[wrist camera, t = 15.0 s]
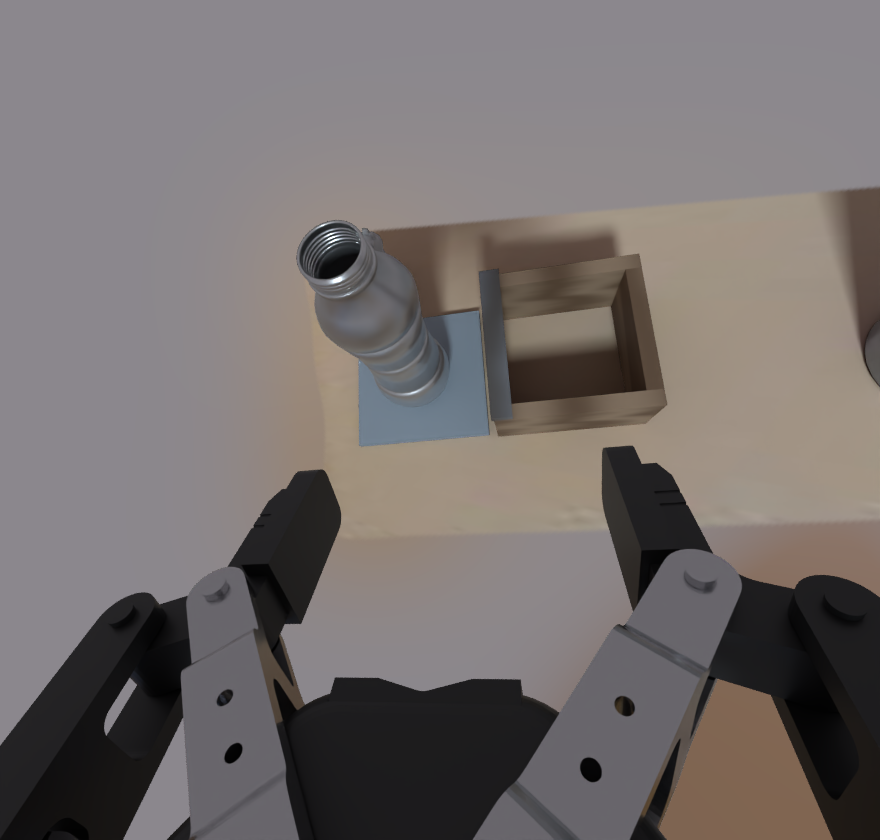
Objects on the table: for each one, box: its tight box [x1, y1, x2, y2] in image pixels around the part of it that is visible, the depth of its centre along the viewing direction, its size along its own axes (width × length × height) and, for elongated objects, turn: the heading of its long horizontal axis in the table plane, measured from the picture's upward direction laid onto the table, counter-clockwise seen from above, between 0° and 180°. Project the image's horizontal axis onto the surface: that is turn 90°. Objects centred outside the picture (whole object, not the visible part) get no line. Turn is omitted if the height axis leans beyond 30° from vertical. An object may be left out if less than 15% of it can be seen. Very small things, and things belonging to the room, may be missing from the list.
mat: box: [359, 311, 489, 446], centre depth 42 cm, size 12×12×1 cm
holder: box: [479, 254, 667, 436], centre depth 37 cm, size 13×12×7 cm
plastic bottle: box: [296, 220, 449, 407], centre depth 32 cm, size 6×7×20 cm
